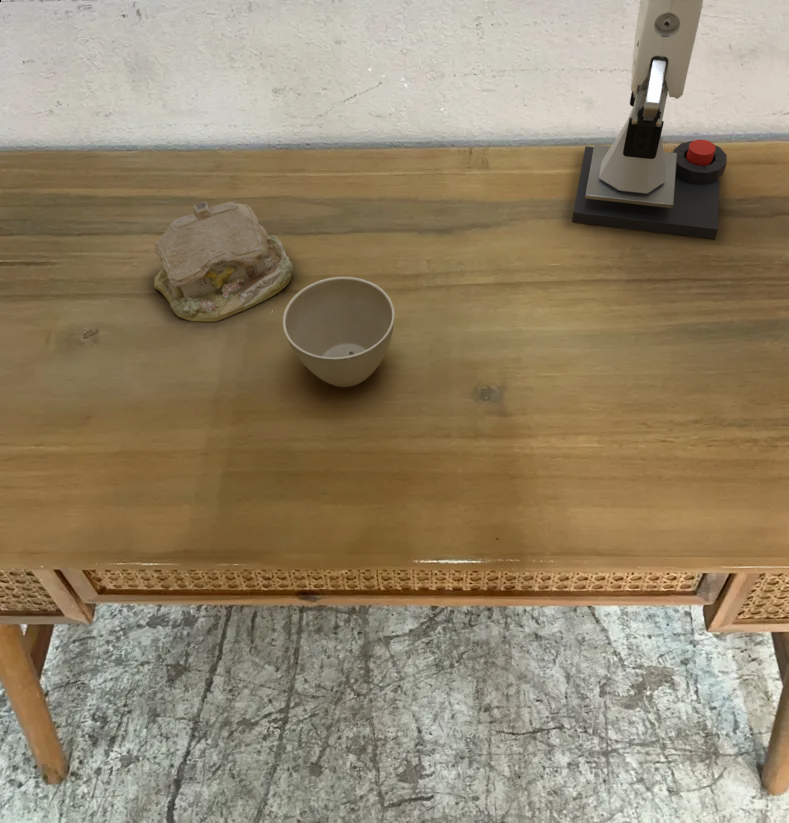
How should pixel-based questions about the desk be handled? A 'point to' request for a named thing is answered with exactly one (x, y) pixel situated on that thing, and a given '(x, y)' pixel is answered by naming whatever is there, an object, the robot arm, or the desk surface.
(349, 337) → the bowl
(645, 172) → the flask
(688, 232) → the scale
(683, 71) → the robot arm
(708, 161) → the tare button
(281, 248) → the ceramic model
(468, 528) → the desk surface
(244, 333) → the desk surface
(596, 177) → the pan
